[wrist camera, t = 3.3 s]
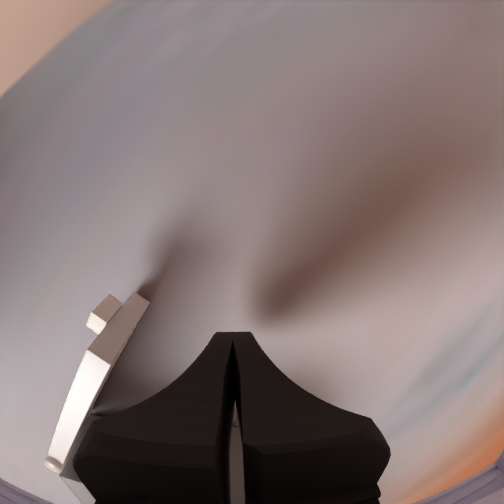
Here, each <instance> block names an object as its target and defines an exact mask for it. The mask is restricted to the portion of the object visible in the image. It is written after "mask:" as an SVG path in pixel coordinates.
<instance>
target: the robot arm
mask: <svg viewBox="0 0 504 504" xmlns="http://www.w3.org/2000/svg"><path fill="white" fill-rule="evenodd" d="M235 401H236V408H237V415H238V422H239V429H240V435H241V442H242V451H243V470H244V491H245V504H380V503H379V500H378V498H379V497H380V496H381V492H380V490H379V487H378V485H377V482H378V480H379V479H380V477H381V475H382V473H383V471H384V470H385V468H386V466H387V464H388V462H389V459H390V456H391V453H390V447H389V446H388V444H387V442H386V440H385V438H384V436H383V435H382V433H381V432H380V430H379V429H378V427H377V426H376V425H375V423H374V422H373V420H372V419H371V418H368V417H365V416H362V415H358V414H355V413H352V412H349V411H346V410H343V409H341V408H338V407H336V406H334V405H331V404H329V403H327V402H325V401H323V400H321V399H319V398H317V397H315V396H314V395H312V394H310V393H309V392H307V391H305V390H304V389H302V388H301V387H299V386H298V385H297V384H295V383H294V382H293V381H291V380H290V379H289V378H288V377H287V376H286V375H285V374H283V373H282V372H281V371H280V370H279V369H278V368H277V367H276V366H275V364H274V363H273V362H272V361H271V360H270V359H269V357H268V356H267V355H266V354H265V353H264V351H263V350H262V349H261V347H260V346H259V344H258V343H257V341H256V340H255V338H254V336H253V334H252V333H251V332H216V333H215V334H214V335H213V337H212V339H211V340H210V342H209V343H208V345H207V346H206V347H205V349H204V350H203V351H202V353H201V354H200V355H199V356H198V358H197V359H196V360H195V361H194V362H193V363H192V364H191V365H190V366H189V367H188V369H187V370H186V371H185V372H184V373H183V374H182V375H181V376H179V377H178V378H177V379H176V380H175V381H174V382H172V383H171V384H170V385H169V386H167V387H166V388H164V389H163V390H161V391H160V392H158V393H157V394H155V395H154V396H152V397H150V398H149V399H147V400H145V401H143V402H141V403H139V404H137V405H135V406H133V407H131V408H129V409H126V410H124V411H121V412H119V413H116V414H113V415H110V416H107V417H104V418H101V419H97V420H94V421H93V422H92V424H91V425H90V427H89V428H88V430H87V431H86V433H85V435H84V437H83V439H82V441H81V443H80V445H79V447H78V449H77V452H76V454H75V456H74V458H73V468H74V470H75V472H76V474H77V476H78V477H79V479H80V480H81V482H82V483H83V484H84V486H85V487H86V488H87V490H88V491H89V492H90V494H91V495H92V496H93V498H94V499H95V500H96V501H95V504H231V490H230V442H231V432H232V423H233V413H234V403H235ZM0 504H54V503H51V502H49V501H47V500H44V499H42V498H39V497H37V496H35V495H33V494H31V493H28V492H26V491H24V490H22V489H20V488H18V487H16V486H14V485H12V484H10V483H8V482H6V481H5V480H3V479H1V478H0ZM413 504H504V450H503V451H502V453H501V454H500V455H499V457H498V458H497V460H496V462H495V463H493V464H492V465H490V466H488V467H487V468H485V469H483V470H482V471H480V472H478V473H476V474H475V475H473V476H471V477H469V478H467V479H466V480H464V481H462V482H460V483H458V484H456V485H454V486H452V487H450V488H448V489H446V490H444V491H441V492H439V493H437V494H435V495H433V496H430V497H428V498H426V499H423V500H421V501H418V502H416V503H413Z"/></svg>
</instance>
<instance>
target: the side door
mask: <svg viewBox="0 0 504 504" xmlns="http://www.w3.org/2000/svg"><path fill="white" fill-rule="evenodd" d="M122 304H123V303H122V302H121V301H119V300H118V299H116V298H115V297H113V296H112V295H110V294H109V295H108V296H107V297H106V298H105V299H104V300H103V301H102V302H101V303H100V304H99V305H98V306H97V307H96V308H95V309H94V310H93V311H92V313H91V315H90V317H89V319H88V321H87V324H86V326H87V327H89V328H90V329H92V330H93V331H95V332H96V333H97V334H99V335H98V336H97V338H96V339H95V340H94V341H93V343H92V344H91V345H90V346H89V348H88V349H87V351H86V353H85V356H84V358H83V360H82V363H81V365H80V367H79V370H78V372H77V374H76V377H75V379H74V382H73V384H72V387H71V389H70V392H69V395H68V397H67V400H66V402H65V405H64V408H63V411H62V413H61V416H60V419H59V422H58V425H57V428H56V431H55V434H54V437H53V440H52V443H51V446H50V449H49V451H48V453H47V455H46V456H45V458H44V460H43V462H44V464H45V465H46V466H47V467H48V468H50V469H51V470H53V471H55V472H57V473H62V471H63V468H64V466H65V464H66V462H67V460H68V458H69V456H70V454H71V452H72V450H73V448H74V446H75V444H76V442H77V440H78V438H79V436H80V434H81V432H82V430H83V428H84V426H85V424H86V422H87V420H88V418H89V417H90V415H91V413H92V411H93V409H94V407H93V405H94V403H95V401H96V399H97V397H98V395H99V393H100V391H101V389H102V387H103V386H104V384H105V382H106V380H107V378H108V376H109V374H110V372H111V371H112V369H113V367H114V365H115V363H116V361H117V360H118V358H119V356H120V354H121V352H122V350H123V349H124V347H125V345H126V343H127V342H128V340H129V338H130V336H131V335H132V333H133V331H134V329H135V328H136V326H137V324H138V322H139V321H140V319H141V317H142V315H143V314H144V312H145V310H146V309H147V307H148V305H149V304H150V302H149V301H147V300H146V299H144V298H143V297H141V296H140V295H138V294H137V293H135V292H133V294H132V295H131V296H130V297H129V298H128V300H127V301H126V302H125V303H124V304H123V306H122ZM121 306H122V307H121Z"/></svg>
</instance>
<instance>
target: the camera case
mask: <svg viewBox="0 0 504 504" xmlns="http://www.w3.org/2000/svg"><path fill="white" fill-rule="evenodd" d="M101 418H104V417H101V416H96V415H90V417H89V418H88V420H87V422H86V424H85V426H84V428H83V430H82V432H81V434H80V436H79V438H78V440H77V442H76V444H75V446H74V448H73V450H72V452H71V454H70V456H69V458H68V460H67V462H66V464H65V466H64V468H63V471H62V473H60V475H59V476H60V477H61V479H62V480H63V481H64V483H65V484H66V485H67V486H68V488H69V489H70V490H71V491H72V493H73V494H74V495H75V496H76V498H77V499H78V500H79V501H80V502H81V503H82V504H95V501H96V500H95V499H94V498H93V496H92V495H91V494H90V492H89V491H88V490H87V488H86V487H85V486H84V484H83V483H82V482H81V480H80V479H79V477H78V476H77V474H76V472H75V470H74V468H73V458H74V456H75V454H76V452H77V449H78V447H79V445H80V443H81V441H82V439H83V437H84V435H85V433H86V431H87V430H88V428H89V427H90V425H91V424H92V422H93V421H94V420H97V419H101ZM230 490H231V504H245V491H244V470H243V451H242V442H241V435H240V429H239V427H232V432H231V442H230Z"/></svg>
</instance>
